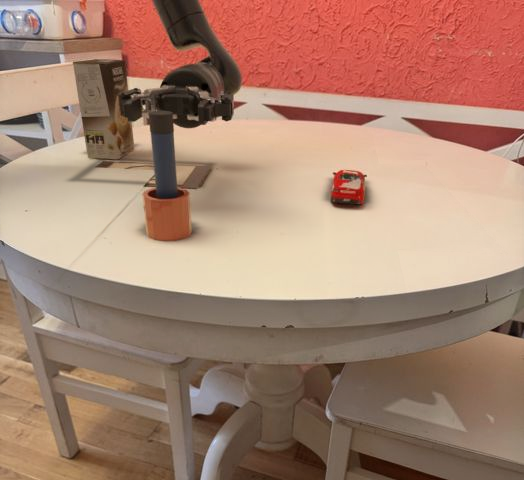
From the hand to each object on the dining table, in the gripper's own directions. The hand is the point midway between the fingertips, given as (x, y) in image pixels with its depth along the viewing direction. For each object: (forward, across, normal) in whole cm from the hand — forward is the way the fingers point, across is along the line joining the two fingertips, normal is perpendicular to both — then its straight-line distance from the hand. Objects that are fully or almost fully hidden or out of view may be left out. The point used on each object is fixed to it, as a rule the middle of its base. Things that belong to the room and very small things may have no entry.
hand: (165, 113), depth 58 cm
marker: (+2, 0, +14) cm, 14 cm away
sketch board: (-23, -10, +14) cm, 29 cm away
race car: (-18, +24, +14) cm, 33 cm away
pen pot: (+3, 0, +14) cm, 14 cm away
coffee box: (-38, -21, +14) cm, 46 cm away
